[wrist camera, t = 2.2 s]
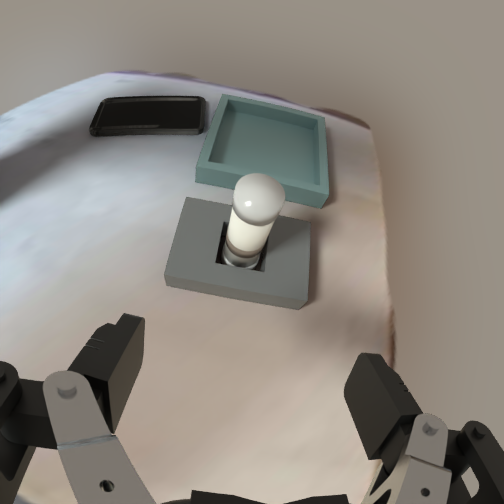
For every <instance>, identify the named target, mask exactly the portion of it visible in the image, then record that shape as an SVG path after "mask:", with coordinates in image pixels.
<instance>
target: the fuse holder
mask: <svg viewBox="0 0 504 504" xmlns="http://www.w3.org/2000/svg"><path fill="white" fill-rule="evenodd" d="M231 212H232V205H227V204H222V203H217V202H212V201H206V200H201V199H196V198H190V197H186V199H185V203H184V206H183V209H182V212H181V216H180V219H179V222H178V226H177V229H176V233H175V236H174V240H173V243H172V247H171V250H170V254H169V258H168V261H167V265H166V269H165V273H164V277H165V281H166V286H171V287H176V288H180V289H185V290H190V291H195V292H200V293H206V294H211V295H216V296H221V297H227V298H232V299H237V300H243V301H249V302H254V303H260V304H266V305H272V306H278V307H284V308H290V309H296V310H299V309H300V308H301V307H302V306H303V305H304V304H305V303H306V302H307V300H308V282H309V260H310V230H311V222H308V221H303V220H299V219H294V218H290V217H285V216H280V215H278V217H277V219H276V220H275V221H274V223H273V226H272V228H271V230H270V233H269V235H268V237H267V240H266V243H265V245H264V247H263V254H262V262H261V270H260V271H255V270H249V269H244V268H239V267H234V266H228V265H223V264H218V263H216V258H217V253H218V248H219V243H220V238H221V235H222V236H226V234H227V229H228V226H229V222H230V217H231Z"/></svg>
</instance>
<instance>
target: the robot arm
mask: <svg viewBox="0 0 504 504" xmlns="http://www.w3.org/2000/svg"><path fill="white" fill-rule="evenodd" d="M144 330H145V319H144V318H143V317H139V316H134V315H130V314H126V313H124V314H123V315H122V316H121V318H120V319H119V321H118V322H117V324H116V325H114V324H110V323H107V324H105V325H103V326H101V327H100V328H98V329H97V330H96V331H95V332H94V334H93V335H92V336H91V339H89V340H88V342H87V343H86V346H84V347H83V349H82V350H81V351H80V353H79V354H78V355H77V357H76V358H75V360H74V361H73V362H72V364H71V365H70V367H69V368H68V370H67V371H58V372H55V373H53V374H51V375H49V376H48V377H47V378H46V379H45V381H34V380H27V379H20V378H19V376H18V372H17V370H16V369H15V367H14V366H12V365H11V364H9V363H7V362H3V361H0V504H13V502H14V499H15V497H16V494H17V492H18V489H19V487H20V484H21V482H22V479H23V477H24V475H25V472H26V470H27V468H28V465H29V463H30V461H31V458H32V456H33V454H34V452H35V449H36V447H41V448H49V449H57V450H58V452H59V455H60V458H61V461H62V464H63V467H64V469H65V472H66V475H67V477H68V480H69V483H70V485H71V488H72V490H73V492H74V495H75V497H76V499H77V502H78V504H156V502H155V501H154V499H153V498H152V496H151V495H150V493H149V492H148V490H147V488H146V487H145V485H144V484H143V482H142V480H141V479H140V477H139V475H138V474H137V472H136V470H135V468H134V467H133V465H132V463H131V461H130V460H129V458H128V456H127V454H126V452H125V450H124V449H123V447H122V445H121V443H120V441H119V439H118V438H117V437H116V435H112V434H114V433H115V430H116V428H117V425H118V423H119V420H120V418H121V415H122V412H123V410H124V407H125V405H126V402H127V400H128V398H129V395H130V393H131V390H132V388H133V385H134V383H135V380H136V378H137V376H138V373H139V371H140V368H141V365H142V361H143V353H144ZM344 398H345V400H346V403H347V405H348V408H349V410H350V413H351V416H352V418H353V421H354V423H355V426H356V428H357V431H358V433H359V436H360V439H361V441H362V444H363V446H364V449H365V452H366V454H367V457H368V460H375V459H382V463H381V465H380V466H379V467H378V469H377V471H376V474H375V476H374V478H373V480H372V482H371V485H370V487H369V489H368V491H367V493H366V495H365V497H364V499H363V501H362V502H361V504H504V451H503V450H502V448H501V447H500V445H499V443H498V442H497V440H496V439H495V437H494V436H493V434H492V433H491V431H490V430H489V429H488V428H487V427H486V426H485V425H484V424H482V423H480V422H478V421H469V422H467V423H466V424H465V426H464V427H463V428H462V430H461V431H455V430H448V429H447V426H446V424H445V423H444V422H443V421H442V420H441V419H440V418H438V417H436V416H434V415H432V414H426V413H425V414H423V412H422V411H421V409H420V407H419V406H418V404H417V403H416V401H415V400H414V398H413V396H412V395H411V393H410V392H408V388H407V387H406V385H404V382H403V381H402V380H401V378H400V376H399V375H398V374H397V373H396V372H395V371H394V370H393V369H391V368H390V367H388V365H387V363H386V362H385V360H384V359H383V357H382V356H381V355H380V354H372V353H361V354H360V355H359V356H358V358H357V360H356V362H355V365H354V367H353V369H352V371H351V373H350V375H349V377H348V379H347V382H346V384H345V387H344ZM111 433H112V434H111ZM470 466H471V468H472V470H473V472H474V474H475V476H476V478H477V480H478V481H479V490H478V492H477V494H476V495H475V496H474V497H473V498H471V496H470V494H469V492H468V490H467V488H466V486H465V484H464V482H463V480H462V478H461V475H463V473H464V472H465V471H466V470H467V469H468V468H469V467H470ZM162 504H265V503H261V502H257V501H253V500H249V499H245V498H242V497H238V496H235V495H228V494H218V493H210V492H203V491H196V490H192V493H191V498H190V499H182V500H175V501H169V502H165V503H162ZM285 504H349V502H348V498H347V495H346V494H342V495H331V496H316V497H309V498H306V499H302V500H298V501H293V502H289V503H285Z"/></svg>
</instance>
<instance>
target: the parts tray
mask: <svg viewBox="0 0 504 504" xmlns="http://www.w3.org/2000/svg"><path fill="white" fill-rule="evenodd" d="M253 173H260V174H265V175H268V176H270V177H272V178H274V179H275V180H277V181H278V182H279V183H280V184H281V186H282V187H283V189H284V191H285V200H286V201H291V202H295V203H299V204H304V205H308V206H312V207H316V208H322V206H323V204H324V203H325V201H326V199H327V198H328V196H329V180H328V160H327V143H326V129H325V118H324V117H321V116H317V115H314V114H310V113H306V112H303V111H299V110H295V109H291V108H287V107H283V106H279V105H275V104H270V103H266V102H261V101H256V100H252V99H247V98H241V97H236V96H231V95H225V94H222V96H221V99H220V101H219V104H218V107H217V109H216V112H215V115H214V117H213V120H212V123H211V125H210V128H209V131H208V134H207V136H206V139H205V142H204V145H203V148H202V151H201V154H200V156H199V159H198V162H197V165H196V179H195V182H197V183H203V184H208V185H214V186H219V187H224V188H229V189H234V190H235V187H236V184H237V182H238V181H239V180H240V179H241V178H242V177H243V176H245V175H248V174H253Z"/></svg>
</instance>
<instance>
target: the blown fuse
mask: <svg viewBox="0 0 504 504" xmlns="http://www.w3.org/2000/svg"><path fill="white" fill-rule="evenodd" d="M284 201H285V191H284V189H283V187H282V186H281V184H280V183H279V182H278V181H277V180H275V179H274V178H272V177H270V176H268V175H265V174H260V173H253V174H248V175H245V176H243V177H242V178H241V179H240V180H239V181H238V182H237V184H236V187H235V191H234V196H233V201H232V212H231V217H230V222H229V226H228V229H227V234H226V241H225V243H224V246H223V250H222V255H221V261H222V264H223V265H228V266H234V267H239V268H244V269H249V270H254V269H255V267H256V265H257V263H258V261H259V258H260V253H261V251H262V249H263V247H264V245H265V243H266V240H267V237H268V235H269V233H270V230H271V228H272V226H273V223H274V221H275V220H276V219H277V217H278V215H279V213H280V211H281V209H282V206H283V204H284Z"/></svg>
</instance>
